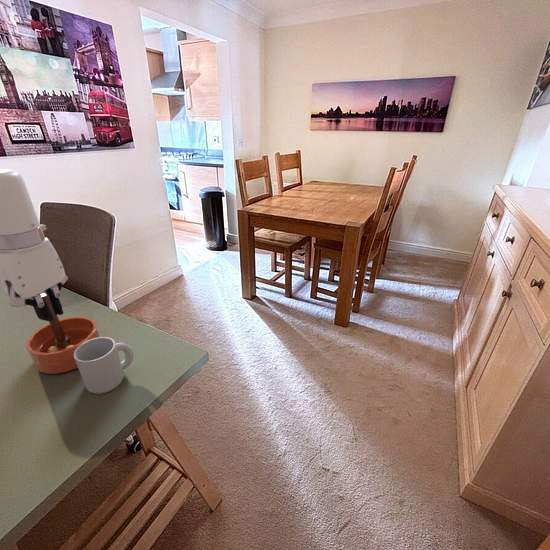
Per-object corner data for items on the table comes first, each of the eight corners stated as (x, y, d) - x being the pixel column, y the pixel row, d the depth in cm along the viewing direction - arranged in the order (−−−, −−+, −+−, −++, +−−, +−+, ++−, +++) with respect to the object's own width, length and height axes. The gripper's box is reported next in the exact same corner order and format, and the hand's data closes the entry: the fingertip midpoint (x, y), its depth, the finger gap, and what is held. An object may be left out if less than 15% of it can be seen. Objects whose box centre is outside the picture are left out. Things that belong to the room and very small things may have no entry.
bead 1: (61, 354, 70) (50, 354, 70) (61, 344, 70) (51, 345, 70) (56, 356, 68) (45, 357, 68) (56, 347, 68) (45, 347, 68)
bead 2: (66, 353, 70) (67, 343, 70) (77, 353, 71) (78, 344, 71) (62, 355, 68) (64, 345, 68) (73, 355, 69) (75, 346, 69)
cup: (82, 379, 64) (70, 346, 60) (131, 358, 70) (123, 327, 66) (90, 401, 59) (77, 367, 55) (142, 376, 65) (134, 344, 61)
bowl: (25, 380, 63) (14, 359, 61) (49, 340, 75) (41, 320, 72) (94, 369, 66) (87, 349, 64) (107, 332, 78) (102, 313, 75)
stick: (54, 349, 68) (33, 299, 62) (59, 341, 71) (38, 292, 64) (68, 347, 69) (48, 297, 63) (72, 339, 72) (53, 290, 65)
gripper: (42, 223, 65) (68, 295, 74) (-43, 251, 52) (2, 335, 60) (70, 227, 64) (94, 300, 72) (-10, 256, 50) (31, 342, 59)
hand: (51, 316), depth 66 cm, fingers closed on stick
